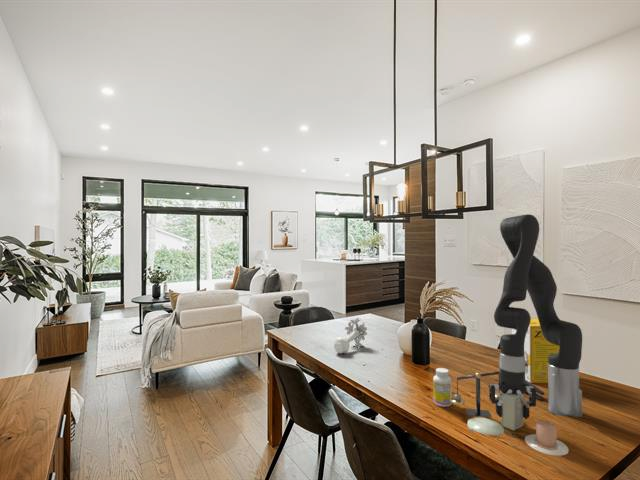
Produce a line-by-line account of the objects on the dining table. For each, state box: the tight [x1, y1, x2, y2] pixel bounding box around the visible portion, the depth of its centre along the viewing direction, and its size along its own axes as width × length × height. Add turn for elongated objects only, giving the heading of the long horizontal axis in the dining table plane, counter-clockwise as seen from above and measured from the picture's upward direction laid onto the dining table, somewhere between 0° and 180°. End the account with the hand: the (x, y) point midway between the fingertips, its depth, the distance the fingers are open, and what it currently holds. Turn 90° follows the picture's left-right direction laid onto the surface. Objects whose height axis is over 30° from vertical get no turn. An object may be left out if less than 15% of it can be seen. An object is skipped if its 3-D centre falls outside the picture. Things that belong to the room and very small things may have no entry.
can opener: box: [525, 380, 546, 402], centre depth 145 cm, size 18×7×6 cm, turn 13°
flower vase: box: [333, 317, 368, 354], centre depth 202 cm, size 13×18×25 cm
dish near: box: [524, 433, 569, 457], centre depth 105 cm, size 11×11×1 cm
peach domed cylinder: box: [535, 420, 558, 450], centre depth 105 cm, size 6×6×6 cm
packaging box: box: [511, 317, 559, 384], centre depth 161 cm, size 16×16×25 cm
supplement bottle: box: [432, 367, 453, 408], centre depth 135 cm, size 7×7×13 cm
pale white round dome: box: [466, 417, 505, 436], centre depth 116 cm, size 11×11×1 cm
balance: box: [450, 371, 501, 418], centre depth 125 cm, size 19×5×16 cm, turn 80°
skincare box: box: [500, 393, 524, 432], centre depth 116 cm, size 6×4×12 cm
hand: (512, 416), depth 116 cm, fingers closed on skincare box, 7 cm apart
